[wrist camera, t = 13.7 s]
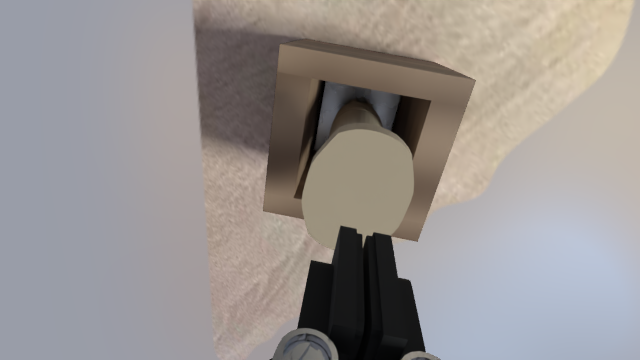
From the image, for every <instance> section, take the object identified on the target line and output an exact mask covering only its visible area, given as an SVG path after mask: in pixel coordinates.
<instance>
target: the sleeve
mask: <svg viewBox="0 0 640 360" xmlns="http://www.w3.org/2000/svg"><path fill="white" fill-rule="evenodd" d="M323 80H324V81H329V82H334V83H340V84H345V85H350V86H356V87H361V88H367V89H372V90H377V91H383V92H388V93H393V94H399V95H402V98H401V102H400V105H399V109H398V113H397V116H396V120H395V124H394V127H393V131H392V132H393V133H395V134H396V135H398V136H399V137H400V138H401V139H402V140H403V141H404V142H405V144H406V145H407V146H408V147H409V149H410V151H411V154H412V161H413V172H414V192H413V196H412V199H411V202H410V204H409V207H408V209H407V211H406V213H405V216H404V218H403V220H402V222H401V223H400V225H399V227H398V228H397V229H396V231H395V232H394V233H393V234H392V235H391V237H397V238H402V239H407V240H412V241H417V242H418V239H419V236H420V233H421V231H422V228H423V225H424V222H425V220H426V217H427V214H428V211H429V209H430V206H431V203H432V200H433V198H434V195H435V192H436V189H437V186H438V184H439V181H440V178H441V175H442V173H443V170H444V167H445V164H446V162H447V159H448V156H449V153H450V151H451V148H452V145H453V142H454V140H455V137H456V134H457V131H458V129H459V126H460V123H461V120H462V118H463V115H464V112H465V109H466V107H467V104H468V101H469V98H470V96H471V93H472V90H473V87H474V85H475V82H476V80H474V79H472V78H470V77H467V76H465V75H463V74H461V73H458V72H456V71H454V70H451V69H449V68H447V67H445V66H442V65H440V64H438V63H434V62H429V61H423V60H418V59H413V58H407V57H402V56H396V55H391V54H385V53H380V52H375V51H369V50H364V49H358V48H353V47H347V46H342V45H337V44H331V43H326V42H320V41H315V40H309V39H302V40H297V41H292V42H287V43H282V44H280V47H279V57H278V67H277V77H276V87H275V96H274V106H273V116H272V126H271V136H270V146H269V156H268V165H267V175H266V185H265V195H264V205H263V211H265V212H270V213H275V214H280V215H285V216H290V217H295V218H300V219H304V215H303V211H302V194H303V190H304V186H305V182H306V179H307V175H308V172H309V168H310V165H311V162H312V159H313V157H314V155H315V154H316V153H317V152H318V151H317V150H314V149H312V146H313V139H314V133H315V127H316V121H317V115H318V109H319V103H320V96H321V90H322V84H323Z"/></svg>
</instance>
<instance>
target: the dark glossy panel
mask: <svg viewBox="0 0 640 360" xmlns="http://www.w3.org/2000/svg"><path fill="white" fill-rule="evenodd" d="M352 99H357V100H358V101H360V102H364V103H367V102H368V103H370V104H371V105H372V106H373V109H374V110H375V111H376V112H377V114H378V115H379V117H380V119H381V122H382V125H383V128H385V129H388V130H389V131H391V129H392V125H393V121H394V118H395V114H396V110H397V106H398V103H399V99H400V95H399V94H393V93H388V92H383V91H377V90H372V89H367V88H361V87H356V86H350V85H345V84H340V83H334V82H329V81H326V83H325V89H324V95H323V101H322V107H321V113H320V119H319V125H318V131H317V137H316V143H315V149H314V150H317V151H318V150H319V149H320V148H321V147H322V145H323V144H324V143H325V142H326V141H327V140H328V138H329V133H330V129H331V126H332V123H333V120H334V118H335V116H336V114H337V113H338V111H339V110H340V109H341V108H342V107H343V106H345V105H346V104H348V103H349V102H350V100H352Z"/></svg>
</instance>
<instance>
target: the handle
mask: <svg viewBox="0 0 640 360" xmlns="http://www.w3.org/2000/svg"><path fill="white" fill-rule="evenodd" d="M413 192H414V172H413V161H412V154H411V151H410V149H409V147H408V146H407V145H406V144H405V142H404V141H403V140H402V139H401V138H400V137H399V136H398V135H396V134H395V133H393V132H391V131H389V130H388V129H385V128H383V125H382V122H381V119H380V117H379V115H378V114H377V112H376V111H375V110H374V109H373V106H372V105H371V104H370V103H368V102H367V103H364V102H360V101H358V100H357V99H352V100H350V102H349V103H348V104H346V105H345V106H343V107H342V108H341V109H340V110H339V111H338V113H337V114H336V116H335V118H334V120H333V123H332V126H331V129H330V133H329V138H328V140H327V141H326V142H325V143H324V144H323V145H322V147H321V148H320V149H319V150H318V152H317V153H316V154H315V155H314V157H313V159H312V162H311V165H310V168H309V172H308V175H307V179H306V182H305V186H304V190H303V194H302V211H303V215H304V220H305V224H306V228H307V231H308V234H309V235H310V236H311V237H312V238H313V239H314V240H315V241H317V242H318V243H319V244H321V245H323V246H325V247H327V248H330V249H333V250H335V246H336V242H337V238H338V233H339V229H340V226H346V227H351V228H356V229H357V233H359V234H362V237H363V246H364V242H365V239H366V236H367V235H369V236H372V235H373V233H374V232H376V233H381V234H386V235H390V236H391V235H392V234H393V233H394V232H395V231H396V229H397V228H398V227H399V225H400V223H401V222H402V220H403V218H404V216H405V213H406V211H407V209H408V207H409V204H410V202H411V199H412V196H413Z"/></svg>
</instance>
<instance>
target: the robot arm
mask: <svg viewBox="0 0 640 360" xmlns="http://www.w3.org/2000/svg"><path fill="white" fill-rule="evenodd" d="M270 360H440V359H439V358H438V357H435V356H434V355H431V354H429V353H426V351H425V346H424V341H423V337H422V332H421V328H420V323H419V318H418V313H417V309H416V304H415V299H414V294H413V290H412V286H411V282H410V281H409V280H407V279H402V278H398V276H397V269H396V263H395V257H394V251H393V245H392V239H391V236H390V235H386V234H381V233H376V232H374V233H373V235H372V236H369V235H367V236H366V239H365V242H364V246H363V237H362V234H359V233H357V229H356V228H351V227H346V226H340V229H339V233H338V238H337V242H336V246H335V251H334V255H333V259H332V264H328V263H323V262H318V261H313V260H311V263H310V268H309V273H308V278H307V283H306V287H305V292H304V297H303V302H302V307H301V312H300V317H299V322H298V328H297V329H296V330H293V331H291V332H289V333H288V334H286V335H285V336H284V337H283V338H282V340H281V341H280V343H279V344H278V347H277V349H276V351H275V354H274V356H273V358H272V359H270Z"/></svg>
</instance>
